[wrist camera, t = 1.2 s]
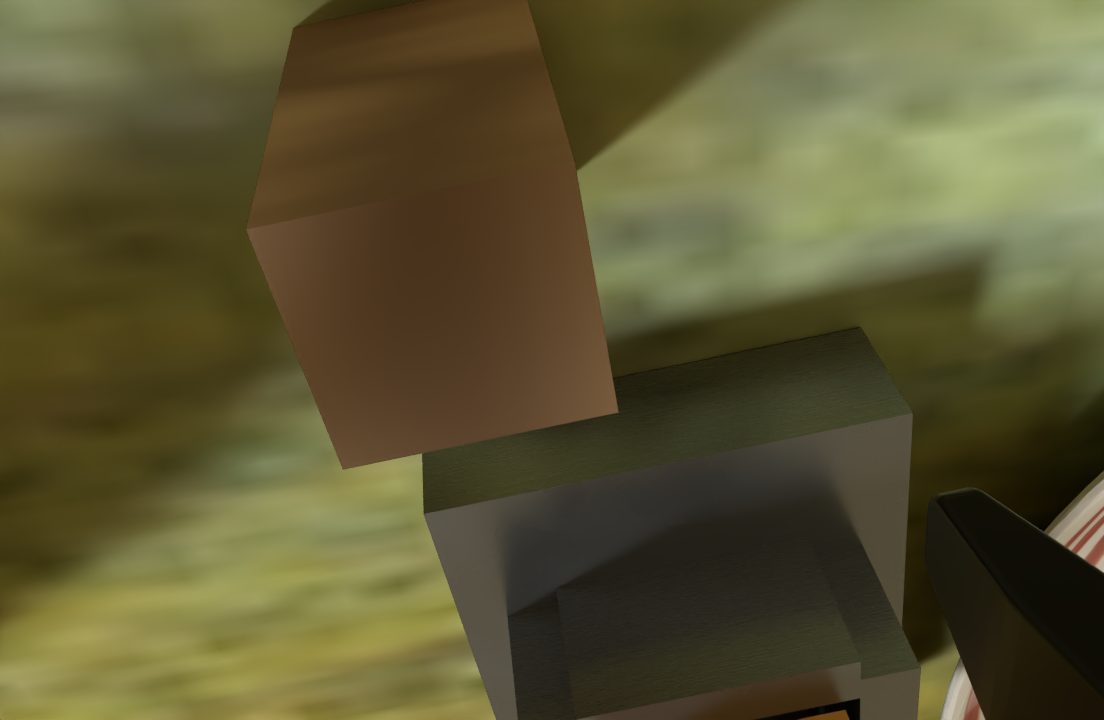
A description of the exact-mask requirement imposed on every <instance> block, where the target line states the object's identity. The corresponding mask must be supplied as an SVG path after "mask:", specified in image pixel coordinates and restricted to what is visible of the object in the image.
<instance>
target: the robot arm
mask: <svg viewBox="0 0 1104 720" xmlns="http://www.w3.org/2000/svg"><path fill="white" fill-rule="evenodd" d="M925 559H926V565H927V570H928V574H929V577H930V580H931V582H932V585H933V588H934V590H935V593H936V595H937V598H938V600H939V603H940V606H941V608H942V611H943V613H944V616H945V618H946V621H947V624H948V626H949V629H950V631H951V634H952V637H953V639H954V642H955V644H956V647H957V649H958V652H959V655H960V657H961V660H962V662H963V665H964V667H965V670H966V673H967V675H968V678H969V680H970V683H971V685H972V688H973V691H974V693H975V696H976V698H977V701H978V703H979V706H980V708H981V711H982V713H983V716H984V718H985V720H1104V572H1102V571H1101V570H1099V569H1098V568H1097V567H1095V566H1094V565H1092V564H1091V563H1089V562H1088V561H1086V560H1085V559H1083V558H1082V557H1080V556H1079V555H1077V554H1076V553H1074V552H1073V551H1071V550H1070V549H1068V548H1067V547H1065V546H1064V545H1062V544H1061V543H1059V542H1058V541H1056V540H1055V539H1053V538H1052V537H1050V536H1049V535H1047V534H1046V533H1044V532H1043V531H1042V530H1040V529H1039V528H1037V527H1036V526H1034V525H1033V524H1031V523H1030V522H1028V521H1027V520H1025V519H1024V518H1022V517H1021V516H1019V515H1018V514H1016V513H1015V512H1013V511H1012V510H1010V509H1009V508H1007V507H1006V506H1004V505H1003V504H1001V503H1000V502H998V501H997V500H995V499H994V498H992V497H991V496H989V495H988V494H987V493H985V492H983V491H982V490H979V489H977V488H972V487H969V488H962V489H958V490H953V491H948V492H943V493H938V494H936V495H934V496H933V497H932V498H931V500H930V501H929V506H928V517H927V532H926V547H925Z"/></svg>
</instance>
